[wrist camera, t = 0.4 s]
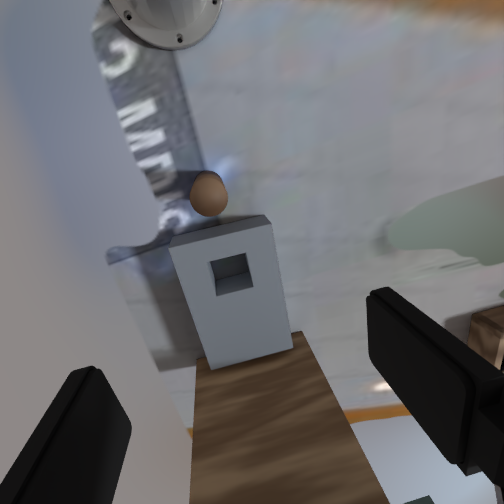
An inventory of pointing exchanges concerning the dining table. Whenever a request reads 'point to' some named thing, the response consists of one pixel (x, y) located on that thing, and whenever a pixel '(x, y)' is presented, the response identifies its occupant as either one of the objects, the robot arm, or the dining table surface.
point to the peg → (208, 194)
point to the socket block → (234, 291)
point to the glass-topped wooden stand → (276, 436)
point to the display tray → (488, 335)
